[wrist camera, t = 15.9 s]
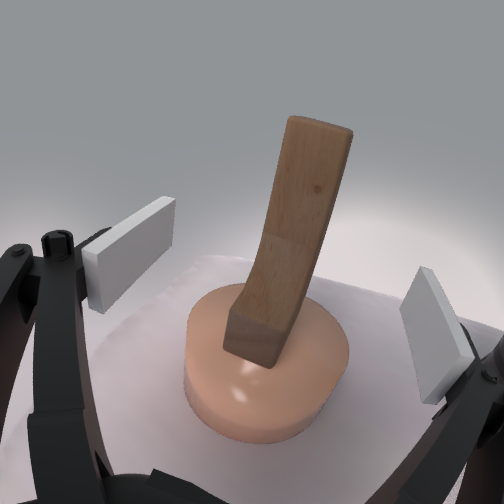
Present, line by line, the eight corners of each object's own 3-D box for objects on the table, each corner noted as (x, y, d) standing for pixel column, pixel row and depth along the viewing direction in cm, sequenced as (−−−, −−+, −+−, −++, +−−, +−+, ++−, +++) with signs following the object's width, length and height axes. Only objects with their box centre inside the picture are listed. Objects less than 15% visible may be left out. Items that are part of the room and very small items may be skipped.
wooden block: (271, 372, 23) (346, 132, 14) (220, 350, 24) (265, 111, 16) (299, 311, 31) (354, 130, 22) (258, 295, 32) (301, 115, 23)
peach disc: (323, 353, 37) (346, 304, 33) (314, 457, 24) (350, 416, 20) (209, 322, 38) (216, 269, 35) (161, 415, 25) (158, 363, 21)
